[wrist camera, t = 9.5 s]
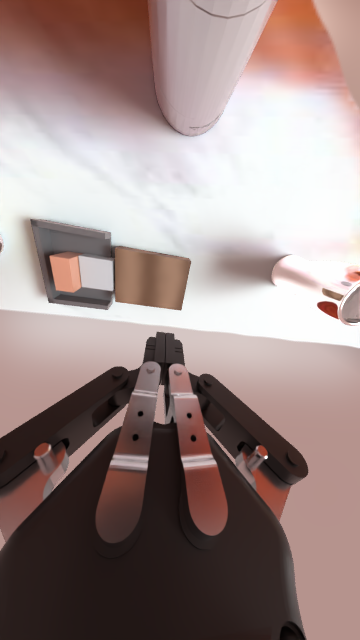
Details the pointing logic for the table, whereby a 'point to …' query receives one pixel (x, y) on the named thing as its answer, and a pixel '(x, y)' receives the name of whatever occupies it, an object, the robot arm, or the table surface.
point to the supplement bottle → (1, 244)
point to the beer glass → (322, 286)
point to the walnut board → (150, 278)
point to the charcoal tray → (71, 239)
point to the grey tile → (97, 271)
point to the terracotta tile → (66, 271)
